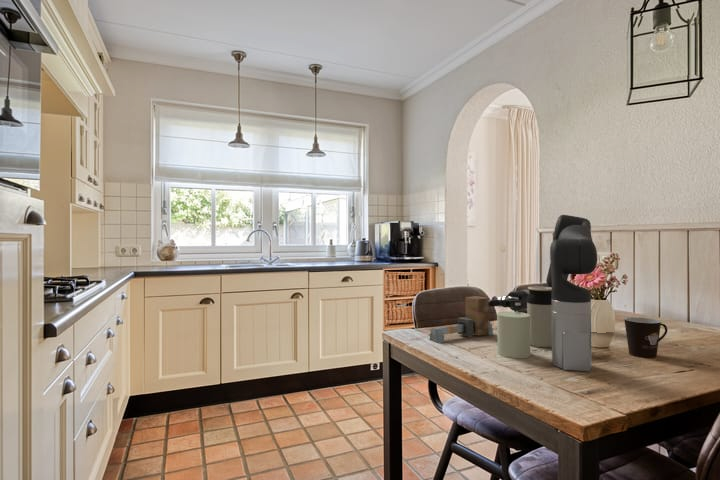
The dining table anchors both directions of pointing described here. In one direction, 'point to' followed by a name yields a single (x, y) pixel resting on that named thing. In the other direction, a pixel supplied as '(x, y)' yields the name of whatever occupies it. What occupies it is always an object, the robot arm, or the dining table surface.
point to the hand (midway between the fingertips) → (488, 303)
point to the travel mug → (540, 316)
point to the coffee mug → (643, 336)
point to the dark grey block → (468, 326)
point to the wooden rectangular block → (478, 313)
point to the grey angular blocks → (440, 335)
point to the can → (513, 334)
